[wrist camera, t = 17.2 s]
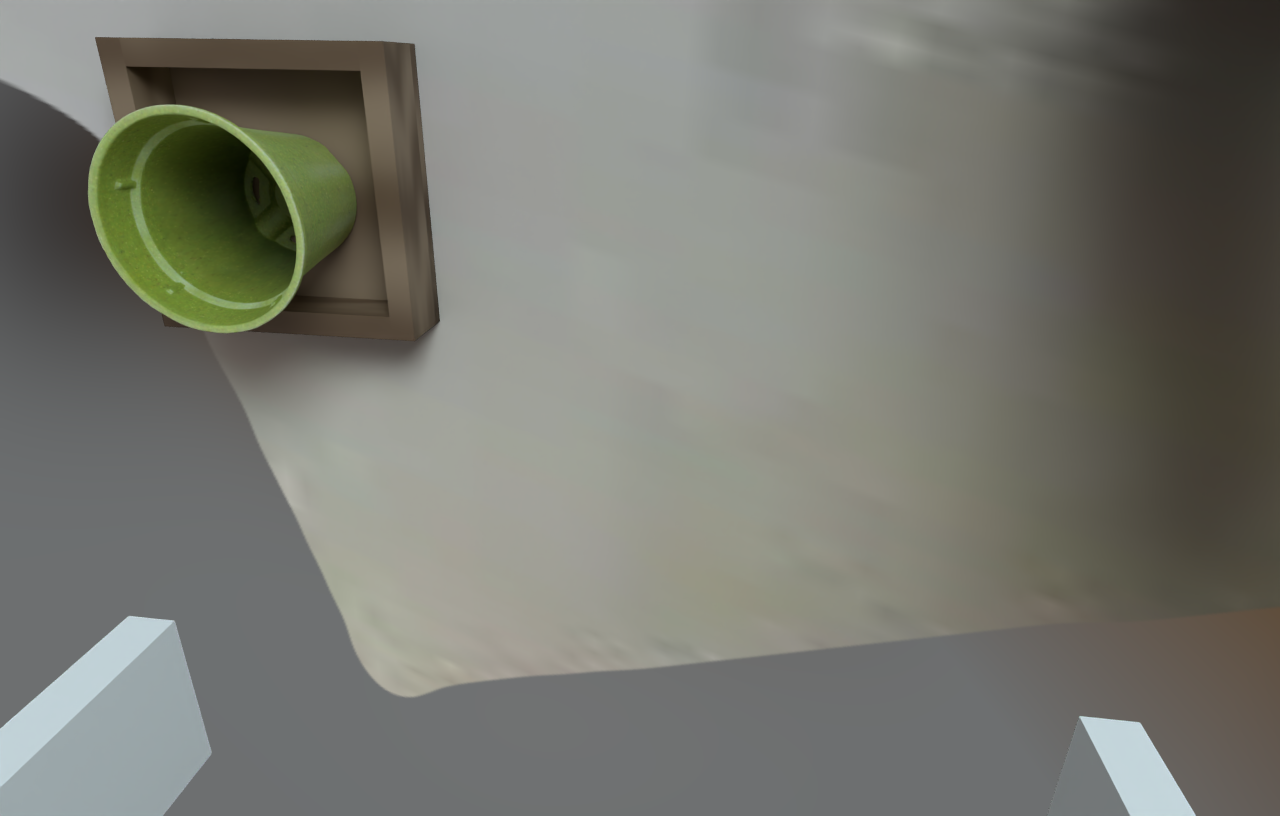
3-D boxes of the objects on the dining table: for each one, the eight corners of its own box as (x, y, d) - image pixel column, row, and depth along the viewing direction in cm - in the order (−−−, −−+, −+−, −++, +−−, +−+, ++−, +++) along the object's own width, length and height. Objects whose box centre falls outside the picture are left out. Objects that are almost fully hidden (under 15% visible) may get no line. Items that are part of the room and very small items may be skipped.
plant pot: (384, 105, 38) (287, 114, 30) (396, 292, 42) (313, 344, 34) (204, 90, 39) (64, 95, 31) (232, 275, 42) (113, 322, 34)
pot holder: (149, 40, 38) (95, 37, 35) (414, 43, 37) (382, 41, 34) (207, 307, 44) (164, 326, 41) (439, 320, 42) (414, 341, 39)
